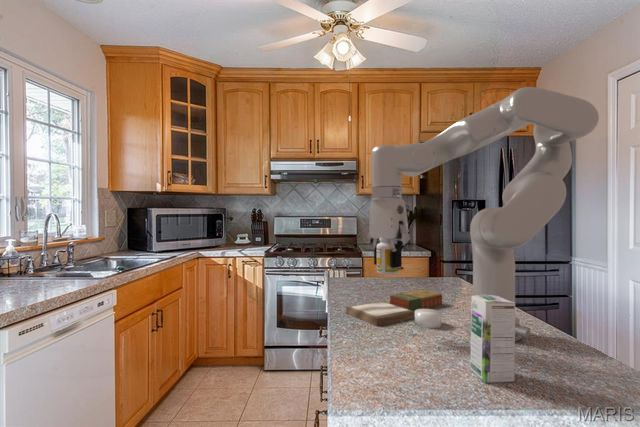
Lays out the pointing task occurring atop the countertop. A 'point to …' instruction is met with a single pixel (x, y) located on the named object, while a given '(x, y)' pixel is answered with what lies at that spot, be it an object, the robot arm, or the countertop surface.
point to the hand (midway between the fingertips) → (387, 265)
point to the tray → (380, 313)
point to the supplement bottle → (384, 257)
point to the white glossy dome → (428, 318)
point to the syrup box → (493, 338)
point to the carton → (417, 299)
